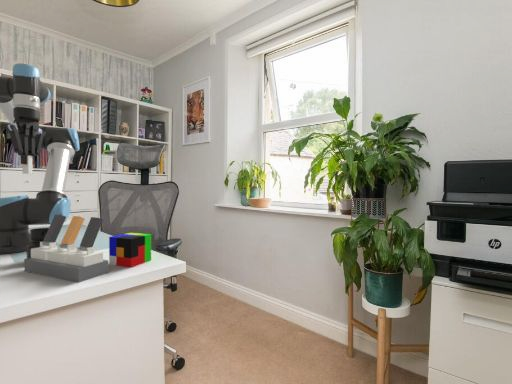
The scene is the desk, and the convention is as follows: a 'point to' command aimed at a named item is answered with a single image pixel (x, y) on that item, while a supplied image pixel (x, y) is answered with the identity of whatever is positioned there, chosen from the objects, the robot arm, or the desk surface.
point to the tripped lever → (72, 231)
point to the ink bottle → (36, 239)
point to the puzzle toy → (129, 249)
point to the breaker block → (68, 255)
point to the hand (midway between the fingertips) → (27, 173)
